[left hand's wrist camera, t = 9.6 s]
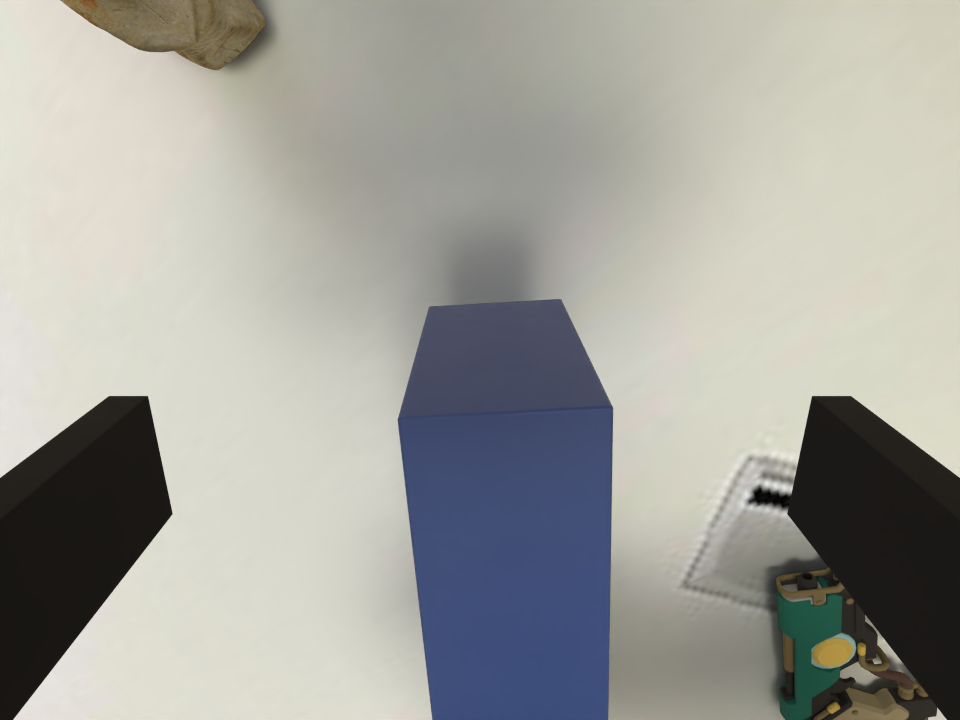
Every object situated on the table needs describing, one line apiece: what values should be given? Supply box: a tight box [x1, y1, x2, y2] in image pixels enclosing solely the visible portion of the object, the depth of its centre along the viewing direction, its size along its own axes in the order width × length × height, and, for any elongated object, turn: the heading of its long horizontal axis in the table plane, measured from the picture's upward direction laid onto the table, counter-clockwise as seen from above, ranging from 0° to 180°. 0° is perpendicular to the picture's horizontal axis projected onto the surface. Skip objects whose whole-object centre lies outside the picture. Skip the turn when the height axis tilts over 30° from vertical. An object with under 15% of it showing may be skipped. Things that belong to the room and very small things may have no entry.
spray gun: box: [776, 567, 937, 720], centre depth 47 cm, size 4×17×15 cm
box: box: [398, 299, 613, 720], centre depth 28 cm, size 26×6×12 cm, turn 3°
